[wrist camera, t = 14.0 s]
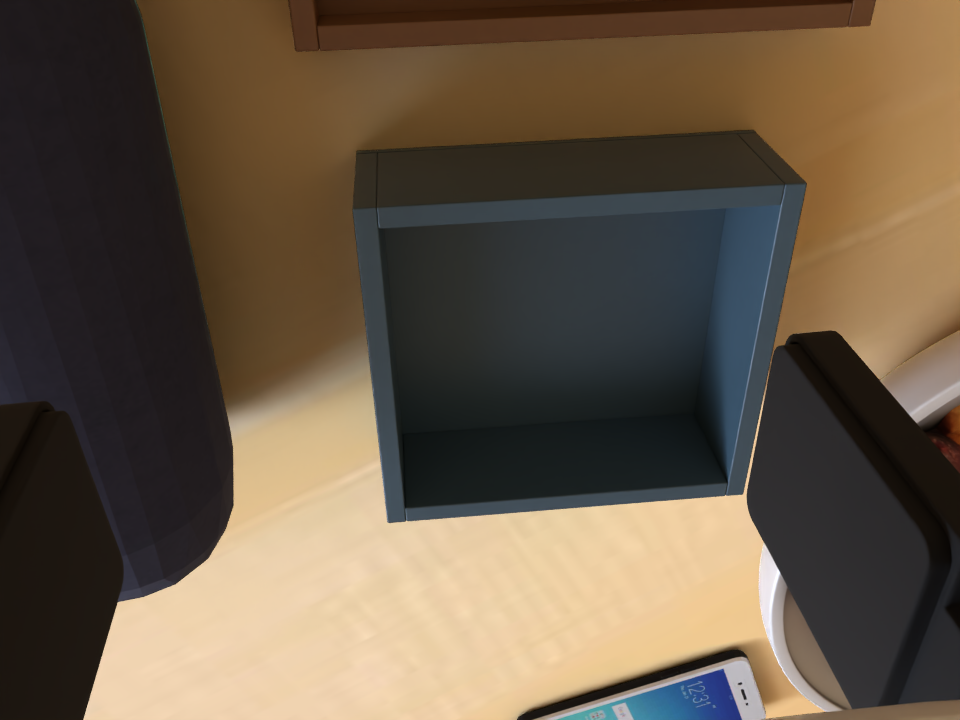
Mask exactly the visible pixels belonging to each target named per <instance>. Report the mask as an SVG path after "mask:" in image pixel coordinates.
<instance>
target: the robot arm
mask: <svg viewBox="0 0 960 720" xmlns="http://www.w3.org/2000/svg"><path fill="white" fill-rule="evenodd" d="M747 505H748V510H749V514H750V516H751V519H752V521H753V523H754V524H755V526H756V528H757V530H758V532H759V534H760V536H761V538H762V540H763V541H764V543H765V545H766V547H767V549H768V551H769V553H770V555H771V557H772V558H773V560H774V562H775V564H776V566H777V568H778V570H779V572H780V574H781V575H782V577H783V579H784V581H785V583H786V585H787V587H788V589H789V591H790V593H791V594H792V596H793V598H794V600H795V602H796V604H797V606H798V608H799V610H800V611H801V613H802V615H803V617H804V619H805V621H806V623H807V625H808V627H809V628H810V630H811V632H812V634H813V636H814V638H815V640H816V642H817V644H818V645H819V647H820V649H821V651H822V653H823V655H824V657H825V659H826V661H827V662H828V664H829V666H830V668H831V670H832V672H833V674H834V676H835V678H836V679H837V681H838V683H839V685H840V687H841V689H842V691H843V693H844V695H845V696H846V698H847V700H848V702H849V704H850V706H851V708H852V709H850V710H841V711H831V712H821V713H811V714H802V715H794V716H785V717H777V718H768V719H760V720H960V473H959V472H958V471H957V470H956V468H955V467H954V466H953V465H952V464H951V463H950V461H949V460H948V459H947V458H946V457H945V456H944V455H943V453H942V452H941V451H940V450H939V449H938V448H937V446H936V445H935V444H934V443H933V442H932V441H931V439H930V438H929V437H928V436H927V435H926V434H925V432H924V431H923V430H922V429H921V428H920V427H919V426H918V424H917V423H916V422H915V421H914V420H913V419H912V417H911V416H910V415H909V414H908V413H907V412H906V410H905V409H904V408H903V407H902V406H901V405H900V404H899V402H898V401H897V400H896V399H895V398H894V397H893V395H892V394H891V393H890V392H889V391H888V390H887V388H886V387H885V386H884V385H883V384H882V383H881V381H880V380H879V379H878V378H877V377H876V376H875V375H874V373H873V372H872V371H871V370H870V369H869V368H868V366H867V365H866V364H865V363H864V362H863V361H862V359H861V358H860V357H859V356H858V355H857V354H856V353H855V351H854V350H853V349H852V348H851V347H850V346H849V344H848V343H847V342H846V341H845V340H844V339H843V337H842V336H841V335H840V334H838V333H837V332H836V331H820V332H809V333H798V334H792V335H791V336H789V338H788V339H787V341H786V344H785V345H782V346H778V347H777V348H776V349H775V351H774V354H773V358H772V363H771V369H770V374H769V379H768V384H767V390H766V395H765V400H764V405H763V411H762V416H761V421H760V426H759V432H758V437H757V442H756V447H755V453H754V458H753V463H752V468H751V473H750V479H749V484H748V489H747ZM123 578H124V566H123V559H122V556H121V553H120V550H119V547H118V545H117V542H116V539H115V537H114V534H113V531H112V529H111V526H110V523H109V520H108V518H107V515H106V512H105V510H104V507H103V504H102V501H101V499H100V496H99V493H98V491H97V488H96V485H95V483H94V480H93V477H92V474H91V472H90V469H89V466H88V464H87V461H86V458H85V455H84V453H83V450H82V447H81V445H80V442H79V439H78V436H77V434H76V431H75V428H74V426H73V423H72V420H71V418H70V416H69V414H68V413H67V412H66V411H63V410H62V411H55V409H54V407H53V406H52V405H51V404H50V403H49V402H47V401H36V402H25V403H14V404H3V405H0V720H83V718H84V715H85V712H86V708H87V705H88V701H89V698H90V694H91V691H92V688H93V684H94V681H95V677H96V674H97V671H98V667H99V664H100V660H101V657H102V653H103V650H104V647H105V643H106V640H107V636H108V633H109V630H110V626H111V623H112V619H113V616H114V612H115V609H116V606H117V602H118V599H119V595H120V592H121V589H122V585H123Z"/></svg>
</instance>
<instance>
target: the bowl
mask: <svg viewBox="0 0 960 720" xmlns="http://www.w3.org/2000/svg"><path fill="white" fill-rule="evenodd" d="M880 381H881V383H882V384H883V385H884V386H885V387H886V388H887V390H888V391H889V392H890V393H891V394H892V395H893V397H894V398H895V399H896V400H897V401H898V402H899V404H900V405H901V406H902V407H903V408H904V409H905V410H906V412H907V413H908V414H909V415H910V416H911V417H912V419H913V420H914V421H915V422H916V423H917V424H918V426H919V427H920V428H921V429H922V430H923V431H924V432H925V434H926V435H927V436H928V437H929V438H930V439H931V441H932V442H933V443H934V444H935V445H936V446H937V448H938V449H939V450H940V451H941V452H942V453H943V455H944V456H945V457H946V458H947V459H948V460H949V461H950V463H951V464H952V465H953V466H954V467H955V468H956V470H957V471H958V472H959V473H960V330H959V331H957V332H955V333H953V334H951V335H949V336H947V337H945V338H944V339H942V340H940V341H938V342H936V343H935V344H933V345H931V346H929V347H928V348H926V349H925V350H923V351H921V352H920V353H918V354H916V355H915V356H913V357H912V358H910V359H909V360H907V361H906V362H904V363H903V364H901V365H900V366H898V367H897V368H895V369H894V370H893V371H891V372H890V373H889V374H887V375H886V376H885V377H883V378H882V379H881V380H880ZM759 599H760V608H761V613H762V619H763V623H764V626H765V630H766V633H767V636H768V639H769V642H770V644H771V647H772V649H773V651H774V654H775V656H776V658H777V661H778V663H779V665H780V667H781V668H782V670H783V672H784V674H785V675H786V676H787V678H788V679H789V681H790V682H791V683H792V684H793V686H794V687H795V688H796V689H797V690H798V691H799V692H800V693H801V694H802V695H803V696H804V697H806V698H807V699H808V700H809V701H811V702H812V703H813V704H815V705H816V706H818V707H819V708H821V709H822V710H824V711H826V712H831V711H841V710H850V709H852V708H851V706H850V704H849V702H848V700H847V698H846V696H845V695H844V693H843V691H842V689H841V687H840V685H839V683H838V681H837V679H836V678H835V676H834V674H833V672H832V670H831V668H830V666H829V664H828V662H827V661H826V659H825V657H824V655H823V653H822V651H821V649H820V647H819V645H818V644H817V642H816V640H815V638H814V636H813V634H812V632H811V630H810V628H809V627H808V625H807V623H806V621H805V619H804V617H803V615H802V613H801V611H800V610H799V608H798V606H797V604H796V602H795V600H794V598H793V596H792V594H791V593H790V591H789V589H788V587H787V585H786V583H785V581H784V579H783V577H782V575H781V574H780V572H779V570H778V568H777V566H776V564H775V562H774V560H773V558H772V557H771V555H770V553H769V551H768V549H767V547H766V545H765V543H763V548H762V553H761V560H760V568H759Z"/></svg>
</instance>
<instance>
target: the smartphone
mask: <svg viewBox="0 0 960 720" xmlns="http://www.w3.org/2000/svg"><path fill="white" fill-rule="evenodd" d="M765 714H766V711H765V708H764V705H763V702H762V699H761V696H760V693H759V690H758V687H757V684H756V681H755V678H754V675H753V672H752V669H751V666H750V663H749V660H748V658H747V655H746V654H745V653H744V652H743V651H741V650H731V651H728V652H725V653H721V654H718V655H715V656H712V657H708V658H705V659H702V660H699V661H695V662H692V663H689V664H686V665H682V666H679V667H676V668H673V669H669V670H666V671H663V672H660V673H656V674H653V675H650V676H647V677H643V678H640V679H637V680H633V681H630V682H627V683H624V684H620V685H617V686H614V687H611V688H607V689H604V690H601V691H598V692H594V693H591V694H588V695H585V696H581V697H578V698H575V699H572V700H568V701H565V702H562V703H559V704H555V705H552V706H549V707H546V708H542V709H539V710H536V711H533V712H529V713H526V714H523V715H521V716H519V717H518V719H517V720H760V719H765V717H766V715H765Z"/></svg>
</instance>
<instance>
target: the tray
mask: <svg viewBox="0 0 960 720" xmlns="http://www.w3.org/2000/svg"><path fill="white" fill-rule="evenodd" d="M288 1H289V9H290V16H291V23H292V31H293V38H294V45H295V50H296V51H298V52H302V51H318V50H319V49H320V51H329V50H352V49H374V48H396V47H418V46H440V45H462V44H484V43H506V42H528V41H550V40H572V39H594V38H616V37H639V36H661V35H683V34H705V33H727V32H749V31H771V30H793V29H815V28H837V27H847V26H848V27H859V26H870V24H871V20H872V15H873V11H874V6H875V2H876V0H288Z"/></svg>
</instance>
